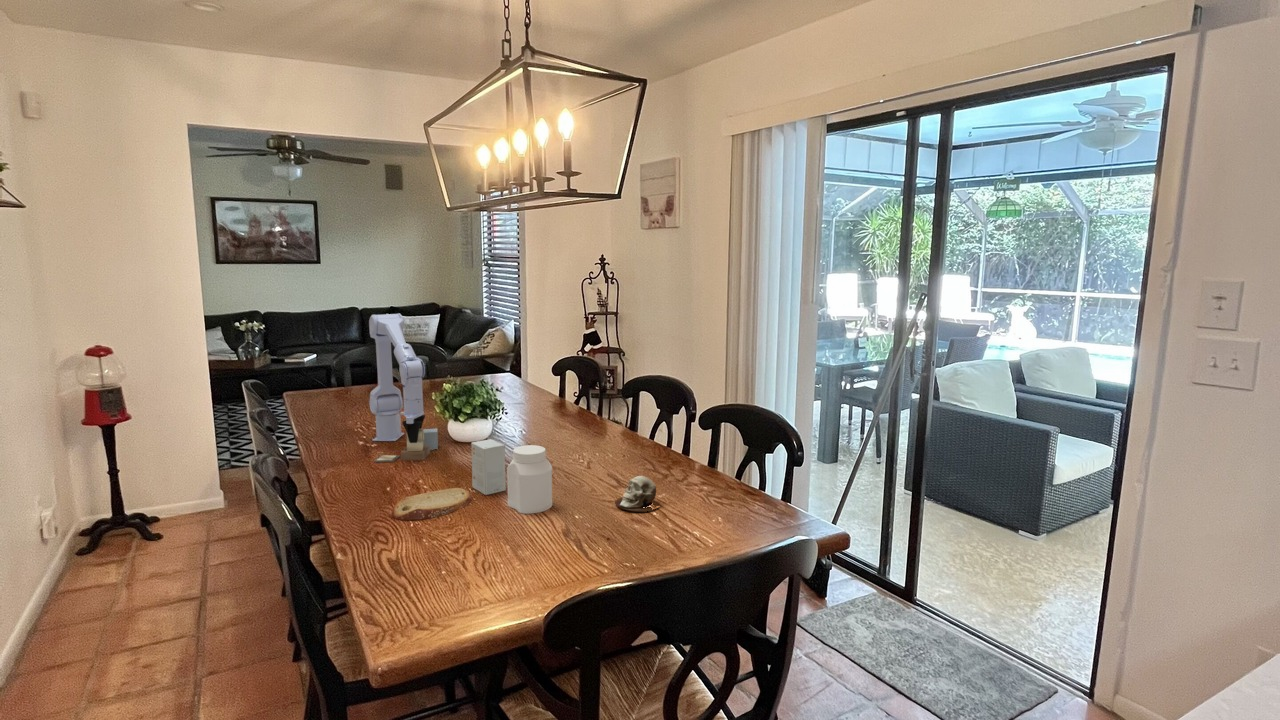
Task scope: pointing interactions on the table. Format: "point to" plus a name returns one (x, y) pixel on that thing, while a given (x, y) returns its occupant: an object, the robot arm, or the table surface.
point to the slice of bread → (431, 504)
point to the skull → (638, 495)
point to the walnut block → (415, 454)
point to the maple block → (419, 444)
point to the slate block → (431, 438)
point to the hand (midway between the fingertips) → (414, 440)
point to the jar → (529, 480)
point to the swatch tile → (387, 458)
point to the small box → (488, 466)
